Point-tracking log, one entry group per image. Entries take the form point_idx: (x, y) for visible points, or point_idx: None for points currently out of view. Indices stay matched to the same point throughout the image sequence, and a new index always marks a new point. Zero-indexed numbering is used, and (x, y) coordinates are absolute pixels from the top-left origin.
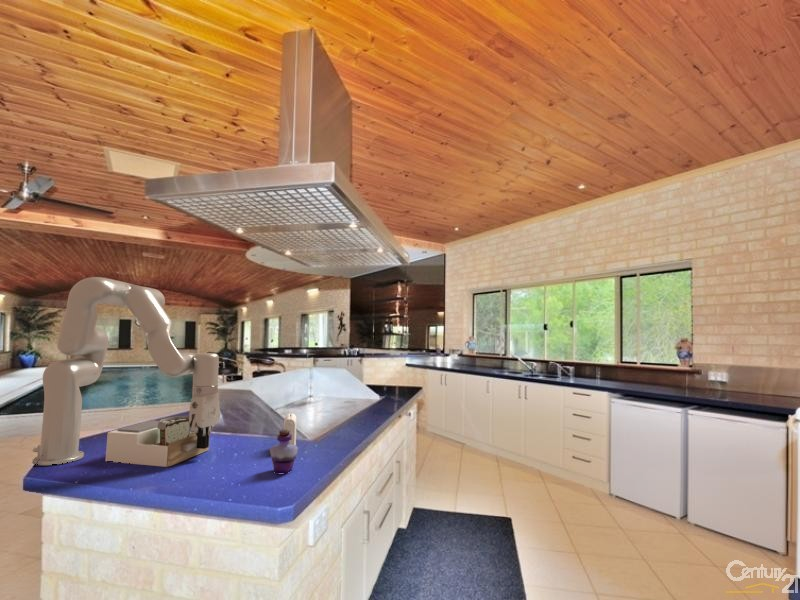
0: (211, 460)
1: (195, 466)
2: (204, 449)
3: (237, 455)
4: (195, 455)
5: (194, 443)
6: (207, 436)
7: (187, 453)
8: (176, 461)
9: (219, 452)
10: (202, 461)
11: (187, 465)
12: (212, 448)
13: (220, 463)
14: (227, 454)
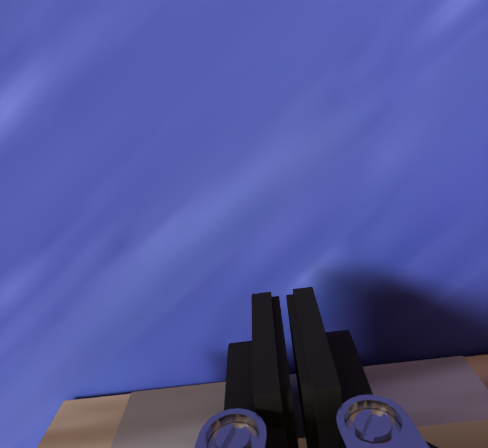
0: (271, 181)
1: (468, 180)
2: (116, 408)
3: (27, 60)
4: None
5: None
6: (288, 384)
7: None
8: (476, 367)
9: (51, 291)
10: (324, 232)
11: (459, 262)
12: (2, 415)
13: (319, 22)
14: (57, 182)
